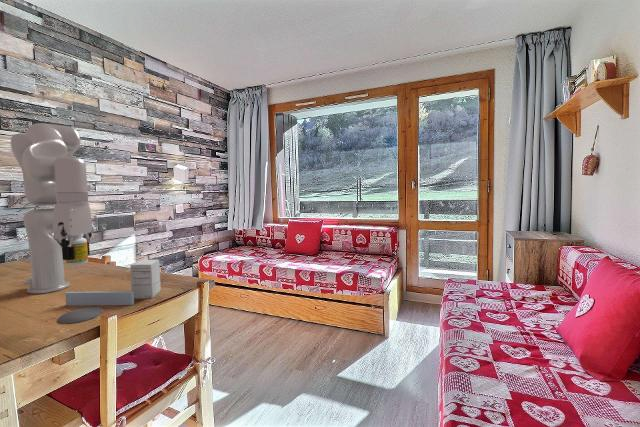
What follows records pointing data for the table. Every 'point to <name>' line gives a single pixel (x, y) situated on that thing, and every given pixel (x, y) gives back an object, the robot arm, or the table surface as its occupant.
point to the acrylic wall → (100, 298)
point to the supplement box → (145, 278)
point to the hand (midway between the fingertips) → (76, 256)
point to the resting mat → (80, 315)
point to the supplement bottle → (79, 250)
